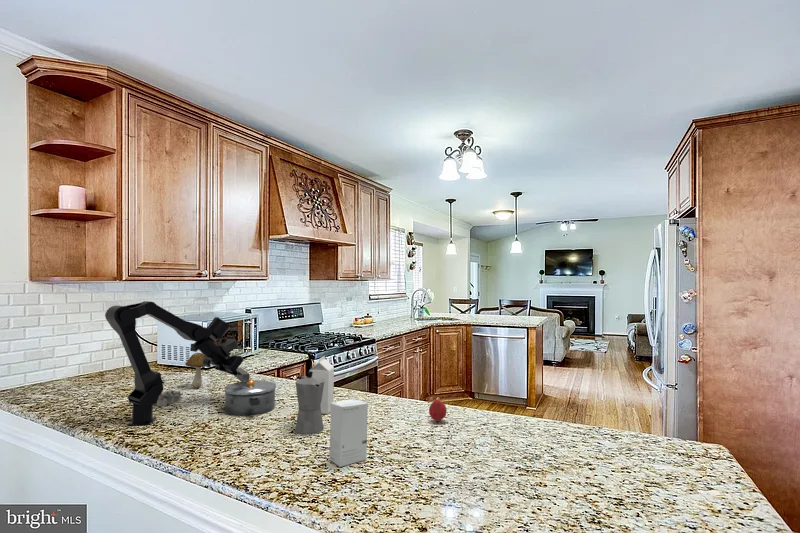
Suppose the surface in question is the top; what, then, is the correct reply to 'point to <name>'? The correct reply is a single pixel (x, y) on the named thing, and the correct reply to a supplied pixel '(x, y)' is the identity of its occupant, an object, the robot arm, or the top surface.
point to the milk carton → (325, 382)
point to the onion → (437, 410)
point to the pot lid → (248, 385)
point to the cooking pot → (249, 404)
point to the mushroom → (196, 362)
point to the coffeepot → (309, 404)
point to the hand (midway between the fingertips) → (236, 374)
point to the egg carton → (168, 397)
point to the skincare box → (348, 432)
